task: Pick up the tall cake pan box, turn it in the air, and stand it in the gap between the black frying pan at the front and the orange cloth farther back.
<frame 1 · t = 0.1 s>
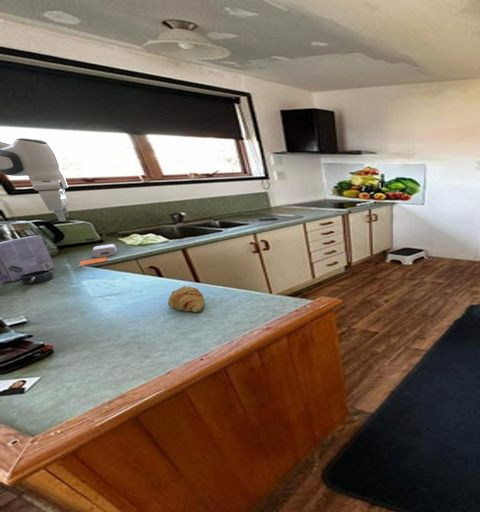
hand: (64, 219, 109), 29 cm above the counter, tool pointing down, fingers open, 8 cm apart
charger: (106, 253, 162), on the counter
croissant: (187, 306, 99), on the counter
pan: (39, 280, 123), on the counter
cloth: (93, 261, 147), on the counter
cake pan box: (32, 274, 131), on the counter
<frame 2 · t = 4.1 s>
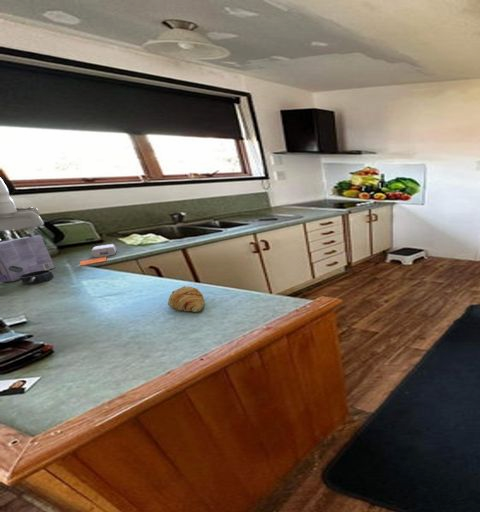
hand: (15, 239, 125), 18 cm above the counter, tool pointing down, fingers open, 8 cm apart
cake pan box: (32, 274, 131), on the counter, touching gripper
everything else where it was.
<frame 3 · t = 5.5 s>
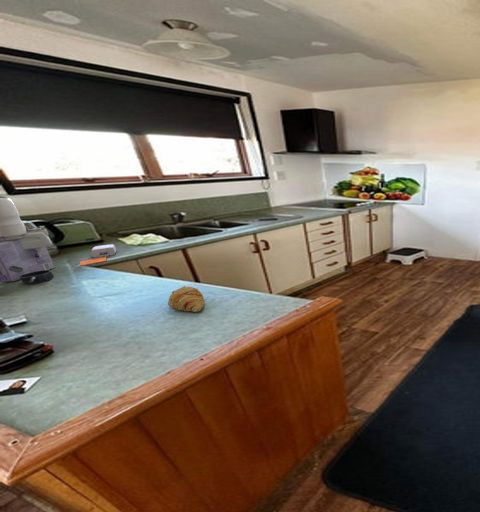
hand: (24, 259, 129), 8 cm above the counter, tool pointing down, fingers closed on cake pan box, 7 cm apart
cake pan box: (32, 274, 131), on the counter, touching gripper
everything else where it was.
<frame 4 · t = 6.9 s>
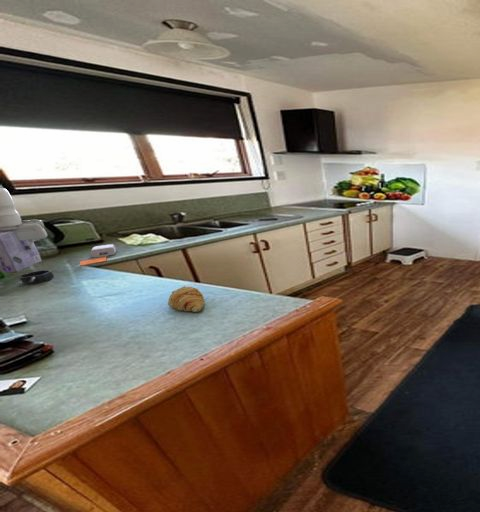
hand: (18, 250, 127), 12 cm above the counter, tool pointing down, fingers closed on cake pan box, 5 cm apart
cake pan box: (24, 267, 128), point 4 cm above the counter, touching gripper
everything else where it was.
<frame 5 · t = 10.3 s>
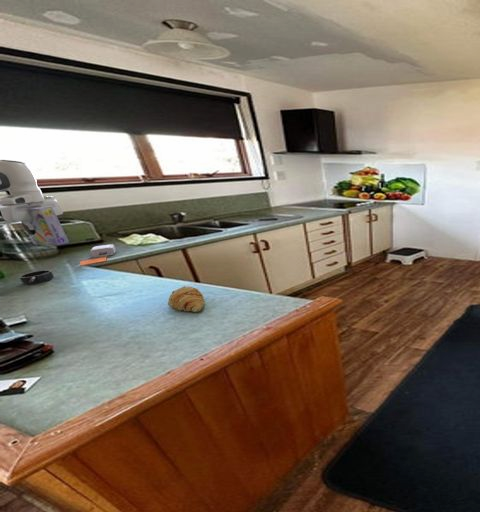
hand: (41, 228, 127), 22 cm above the counter, tool pointing down, fingers closed on cake pan box, 5 cm apart
cake pan box: (50, 244, 129), point 14 cm above the counter, touching gripper
everything else where it was.
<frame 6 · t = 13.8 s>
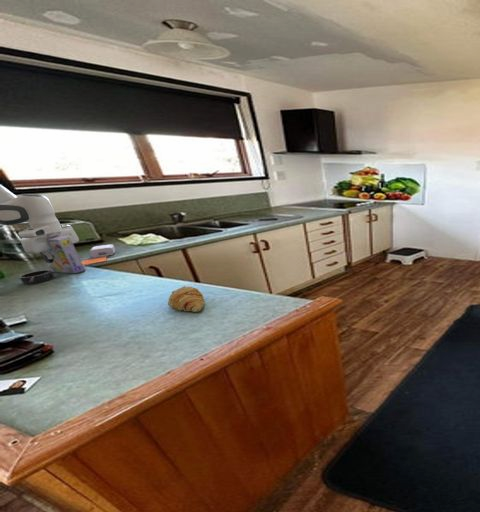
hand: (59, 256, 132), 8 cm above the counter, tool pointing down, fingers closed on cake pan box, 5 cm apart
cake pan box: (67, 271, 134), on the counter, touching gripper
everything else where it was.
when the fingers open (8 cm above the counter, at t = 13.9 s): cake pan box stays where it is, on the counter.
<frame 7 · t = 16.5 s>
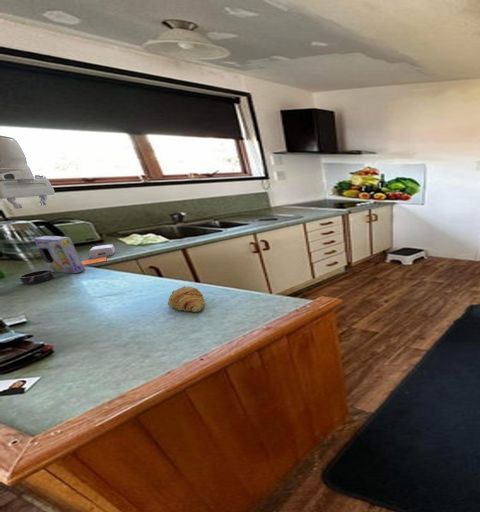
hand: (31, 206, 124), 32 cm above the counter, tool pointing down, fingers open, 8 cm apart
cake pan box: (67, 271, 134), on the counter
everything else where it was.
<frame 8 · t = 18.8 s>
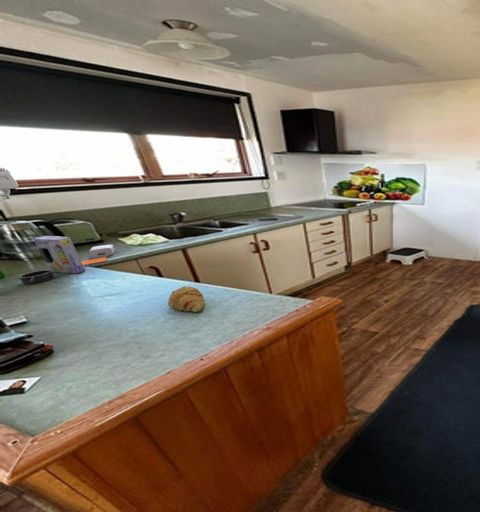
nothing on the counter moved.
at the end: cake pan box 1.0 cm from the target spot on the counter beside the pan, on the counter; cake pan box 14.3 cm from the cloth (horizontally); cake pan box tilted 0° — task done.
